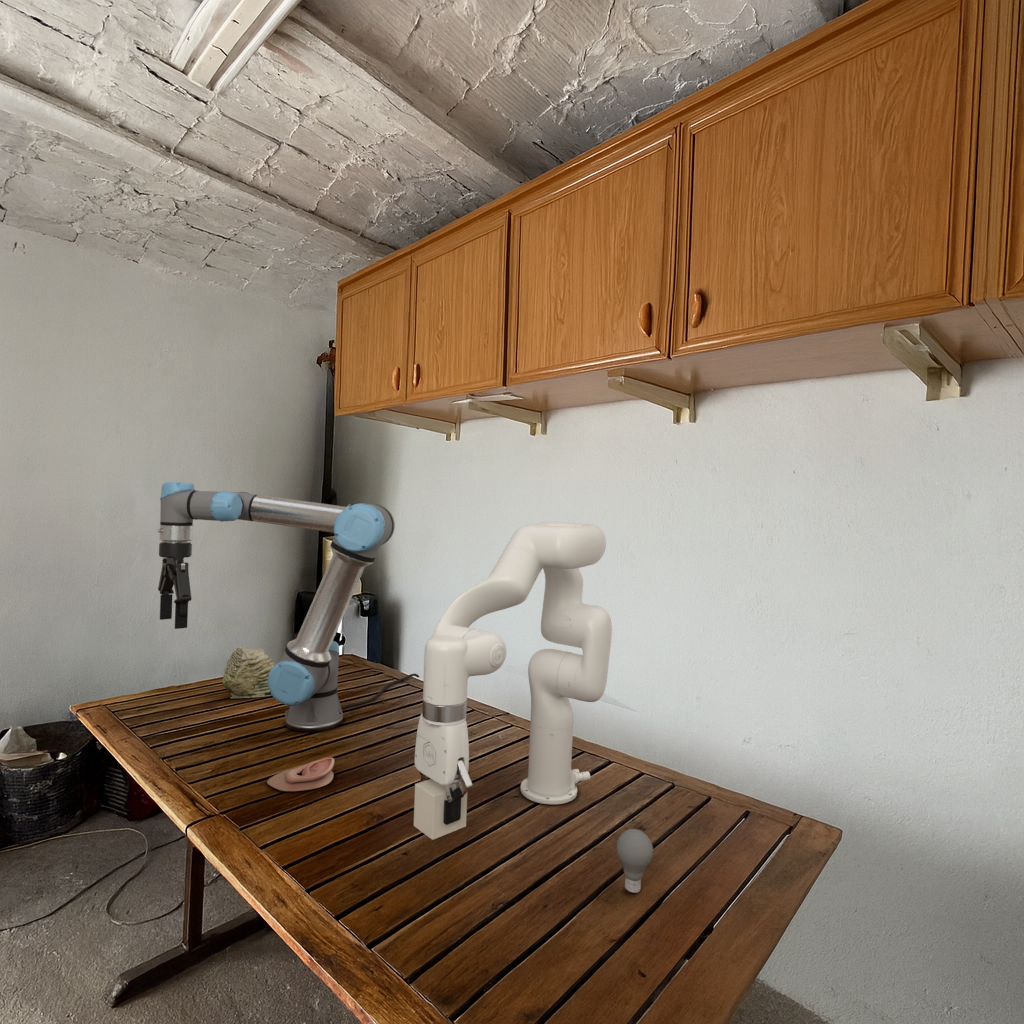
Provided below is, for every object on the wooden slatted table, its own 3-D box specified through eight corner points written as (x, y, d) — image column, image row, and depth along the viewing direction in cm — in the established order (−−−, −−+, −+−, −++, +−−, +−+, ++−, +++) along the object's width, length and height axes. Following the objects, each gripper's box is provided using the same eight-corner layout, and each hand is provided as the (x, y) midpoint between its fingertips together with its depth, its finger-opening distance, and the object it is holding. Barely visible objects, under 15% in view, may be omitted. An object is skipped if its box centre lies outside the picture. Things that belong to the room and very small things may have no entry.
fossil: (218, 695, 195) (220, 647, 195) (278, 685, 208) (279, 640, 207) (228, 703, 189) (230, 653, 188) (289, 692, 201) (290, 645, 201)
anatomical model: (259, 769, 136) (288, 749, 147) (258, 787, 136) (288, 766, 147) (316, 777, 133) (341, 756, 145) (315, 796, 133) (340, 773, 145)
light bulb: (610, 879, 108) (613, 822, 108) (644, 879, 109) (647, 822, 109) (619, 902, 102) (622, 840, 102) (655, 901, 103) (658, 840, 103)
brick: (413, 825, 108) (414, 783, 108) (446, 813, 113) (448, 773, 113) (432, 840, 104) (434, 796, 104) (466, 826, 109) (467, 784, 109)
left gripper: (147, 538, 170) (144, 616, 171) (174, 545, 152) (171, 633, 152) (177, 538, 175) (174, 614, 176) (207, 545, 157) (204, 630, 157)
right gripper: (398, 700, 112) (395, 801, 112) (457, 729, 99) (453, 843, 100) (433, 692, 117) (430, 789, 117) (493, 719, 104) (489, 828, 105)
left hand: (173, 623), depth 164 cm, fingers open, 13 cm apart
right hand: (440, 813), depth 109 cm, fingers closed on brick, 5 cm apart
